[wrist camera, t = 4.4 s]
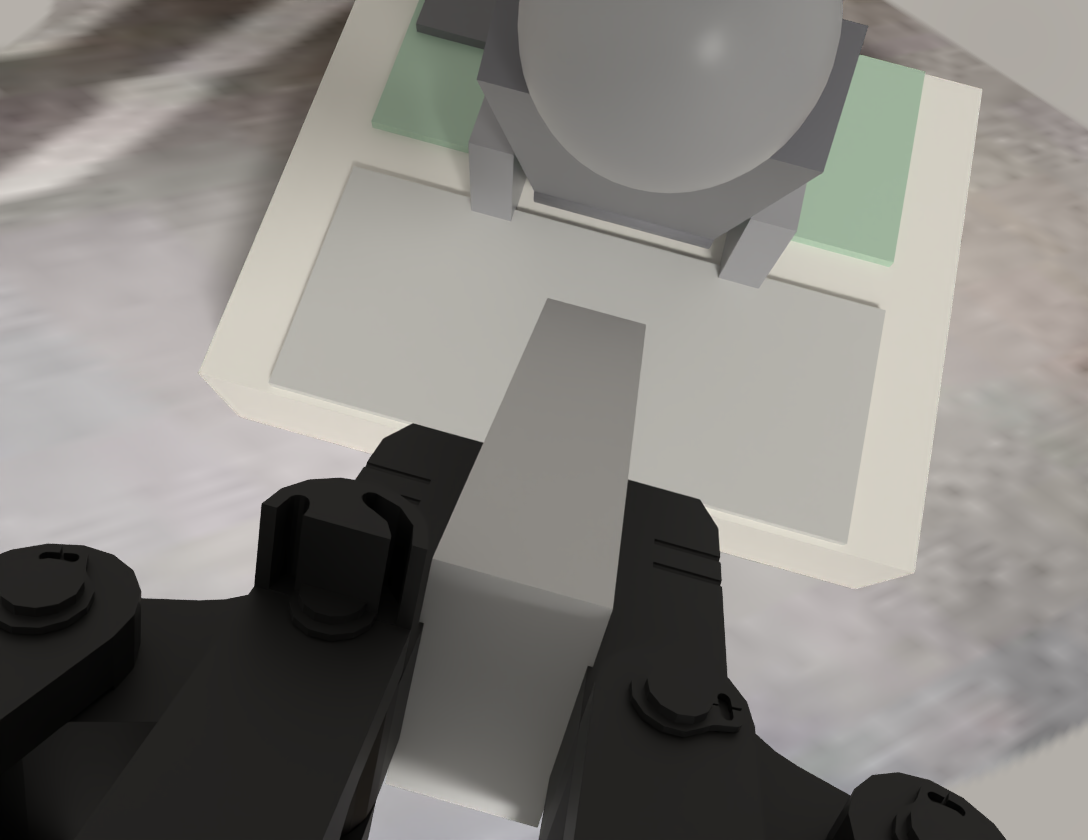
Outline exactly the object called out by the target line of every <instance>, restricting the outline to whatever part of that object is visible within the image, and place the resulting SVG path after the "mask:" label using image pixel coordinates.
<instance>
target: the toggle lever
mask: <svg viewBox="0 0 1088 840" xmlns="http://www.w3.org/2000/svg"><path fill="white" fill-rule="evenodd" d="M842 17H843V0H496V4H495V8H494V12H493V16H492V20H491V24H490V28H489V32H488V36H487V40H486V44H485V48H484V52H483V56H482V60H481V64H480V68H479V72H478V76H477V81H478V83H479V85H480V87H481V89H482V91H483V93H484V95H485V97H486V99H487V101H488V103H489V105H490V107H491V109H492V111H493V112H494V114H495V116H496V118H497V120H498V122H499V124H500V126H501V128H502V130H503V132H504V134H505V136H506V138H507V140H508V142H509V143H510V145H511V147H512V149H513V151H514V153H515V155H516V157H517V159H518V161H519V163H520V165H521V167H522V169H523V171H524V173H525V174H526V176H527V178H528V180H529V182H530V184H531V186H532V188H533V190H534V202H536V203H540V204H544V205H547V206H551V207H555V208H559V209H562V210H566V211H570V212H573V213H577V214H581V215H584V216H588V217H592V218H595V219H599V220H603V221H606V222H610V223H614V224H618V225H621V226H625V227H629V228H632V229H636V230H640V231H643V232H647V233H651V234H654V235H658V236H662V237H665V238H669V239H673V240H677V241H680V242H684V243H688V244H691V245H695V246H699V247H702V248H706V249H709V248H710V247H711V245H712V243H713V241H714V240H715V239H716V238H718V237H719V236H721V235H723V234H724V233H726V232H728V231H729V230H731V229H732V228H734V227H736V226H737V225H739V224H741V223H742V222H744V221H745V220H747V219H749V218H750V217H752V216H754V215H755V214H757V213H758V212H760V211H762V210H763V209H765V208H767V207H768V206H770V205H771V204H773V203H775V202H776V201H778V200H780V199H781V198H783V197H784V196H786V195H788V194H789V193H791V192H793V191H794V190H796V189H797V188H799V187H801V186H802V185H804V184H806V183H807V182H809V181H810V180H812V179H814V178H815V177H817V176H818V175H820V174H822V173H823V172H824V169H825V165H826V162H827V159H828V156H829V152H830V149H831V146H832V143H833V139H834V136H835V133H836V130H837V126H838V123H839V120H840V116H841V113H842V110H843V107H844V103H845V100H846V97H847V94H848V90H849V87H850V84H851V81H852V77H853V74H854V71H855V68H856V64H857V61H858V58H859V55H860V51H861V48H862V45H863V42H864V38H865V35H866V32H867V28H868V26H867V25H863V24H859V23H855V22H852V21H848V20H844V19H842Z"/></svg>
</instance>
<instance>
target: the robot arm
mask: <svg viewBox="0 0 1088 840" xmlns="http://www.w3.org/2000/svg"><path fill="white" fill-rule="evenodd" d="M645 330H646V324H642V323H639V322H635V321H631V320H628V319H624V318H620V317H617V316H613V315H609V314H605V313H602V312H598V311H594V310H591V309H587V308H583V307H580V306H576V305H572V304H569V303H565V302H561V301H558V300H554V299H550V298H547V300H546V302H545V305H544V307H543V309H542V312H541V314H540V316H539V318H538V321H537V323H536V325H535V327H534V330H533V332H532V334H531V336H530V339H529V341H528V343H527V345H526V348H525V350H524V352H523V355H522V357H521V359H520V361H519V364H518V366H517V368H516V370H515V373H514V375H513V377H512V379H511V382H510V384H509V386H508V388H507V391H506V393H505V395H504V398H503V400H502V402H501V404H500V407H499V409H498V411H497V413H496V416H495V418H494V420H493V422H492V425H491V427H490V429H489V431H488V434H487V436H486V438H485V441H484V443H483V442H480V441H476V440H472V439H469V438H465V437H461V436H458V435H454V434H451V433H447V432H443V431H440V430H436V429H433V428H429V427H425V426H422V425H418V424H414V423H412V424H410V425H408V426H406V427H404V428H402V429H400V430H399V431H397V432H395V433H393V434H391V435H389V436H387V437H385V438H383V439H382V441H381V442H380V444H379V445H378V447H377V448H376V450H375V451H374V453H373V454H372V456H371V457H370V459H369V460H368V462H367V465H366V467H364V468H363V469H362V471H361V472H360V474H359V475H358V477H357V478H356V480H352V479H345V478H327V479H310V480H306V481H303V482H300V483H297V484H294V485H291V486H287V487H284V488H281V489H280V490H279V491H277V492H276V493H275V494H274V495H272V496H271V497H270V498H268V499H267V500H266V501H264V502H263V503H262V506H261V517H260V529H259V540H258V551H257V562H256V573H255V584H254V587H253V589H252V590H251V592H250V593H249V594H248V595H245V596H240V597H235V598H230V599H224V600H199V601H198V600H172V599H145V598H141V589H140V587H139V584H138V581H137V579H136V576H135V573H134V571H133V570H132V569H131V568H130V567H128V566H127V565H126V564H125V563H123V562H122V561H121V560H119V559H118V558H117V557H116V556H114V555H113V554H109V553H106V552H103V551H100V550H97V549H94V548H90V547H87V546H84V545H65V544H43V545H37V546H31V547H25V548H19V549H13V550H9V551H7V552H4V553H2V554H0V840H368V837H369V832H370V827H371V822H372V817H373V812H374V807H375V803H376V799H377V796H378V794H379V791H380V789H381V786H382V783H383V781H384V778H385V775H386V773H387V777H386V782H385V784H387V785H391V786H394V787H398V788H401V789H405V790H408V791H412V792H415V793H419V794H422V795H426V796H429V797H433V798H436V799H440V800H443V801H447V802H450V803H454V804H457V805H461V806H464V807H468V808H471V809H475V810H478V811H481V812H485V813H488V814H492V815H495V816H499V817H502V818H506V819H509V820H513V821H516V822H520V823H523V824H527V825H530V826H534V827H538V824H539V821H540V819H541V816H542V813H543V818H542V823H541V829H540V835H539V840H1006V839H1005V837H1004V836H1003V835H1002V833H1001V832H1000V831H999V830H998V828H997V827H996V826H995V825H994V823H992V822H991V821H990V820H989V819H988V818H986V817H985V816H984V815H983V814H982V813H980V812H979V811H978V810H977V809H976V808H974V807H973V806H972V805H971V804H970V803H968V802H967V801H966V800H965V799H964V798H962V797H960V796H958V795H957V794H955V793H953V792H951V791H949V790H947V789H945V788H944V787H942V786H940V785H938V784H936V783H934V782H932V781H931V780H927V779H923V778H919V777H915V776H911V775H907V774H903V773H899V772H897V773H888V774H878V775H872V776H870V777H869V778H868V779H867V780H865V781H864V782H863V783H861V784H860V785H859V786H858V787H856V788H855V789H854V791H853V792H852V794H851V796H850V795H848V794H847V793H845V792H843V791H841V790H839V789H838V788H836V787H834V786H832V785H830V784H829V783H827V782H825V781H823V780H822V779H820V778H818V777H816V776H814V775H813V774H811V773H809V772H807V771H805V770H804V769H802V768H800V767H798V766H797V765H795V764H794V763H792V762H791V761H789V760H788V759H786V758H784V757H783V756H781V755H780V754H778V753H777V752H775V751H774V750H773V749H772V748H771V747H770V746H769V745H768V744H766V743H765V742H764V741H763V740H762V739H761V738H760V737H759V736H758V735H756V734H755V726H754V723H753V720H752V716H751V713H750V710H749V707H748V704H747V701H746V700H745V699H744V698H743V696H742V695H741V694H740V692H739V691H738V690H737V688H736V687H735V686H734V685H733V683H732V682H731V681H730V679H729V678H727V663H726V646H725V629H724V613H723V596H722V587H721V586H720V584H721V581H722V579H721V563H720V562H719V559H720V546H719V529H718V527H717V525H716V524H715V522H714V521H713V519H712V517H711V516H710V514H709V513H708V511H707V510H706V508H705V506H704V505H703V503H702V502H701V500H700V499H697V498H694V497H690V496H686V495H683V494H679V493H676V492H672V491H668V490H665V489H661V488H657V487H654V486H650V485H647V484H643V483H639V482H636V481H632V480H628V475H629V466H630V458H631V449H632V441H633V432H634V424H635V415H636V406H637V398H638V389H639V381H640V372H641V364H642V355H643V347H644V338H645ZM387 770H388V772H387ZM543 810H544V812H543Z"/></svg>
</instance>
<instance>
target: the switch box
mask: <svg viewBox="0 0 1088 840" xmlns="http://www.w3.org/2000/svg"><path fill="white" fill-rule="evenodd" d="M495 4H496V0H355V3H354V5H353V8H352V10H351V12H350V15H349V17H348V19H347V22H346V24H345V27H344V29H343V31H342V34H341V36H340V38H339V41H338V43H337V46H336V48H335V50H334V53H333V55H332V57H331V60H330V62H329V64H328V67H327V69H326V72H325V74H324V76H323V79H322V81H321V83H320V86H319V88H318V91H317V93H316V95H315V98H314V100H313V102H312V105H311V107H310V109H309V112H308V114H307V117H306V119H305V121H304V124H303V126H302V128H301V131H300V133H299V136H298V138H297V140H296V143H295V145H294V147H293V150H292V152H291V155H290V157H289V159H288V162H287V164H286V166H285V169H284V171H283V173H282V176H281V178H280V181H279V183H278V185H277V188H276V190H275V192H274V195H273V197H272V200H271V202H270V204H269V207H268V209H267V211H266V214H265V216H264V219H263V221H262V223H261V226H260V228H259V230H258V233H257V235H256V237H255V240H254V242H253V245H252V247H251V249H250V252H249V254H248V256H247V259H246V261H245V264H244V266H243V268H242V271H241V273H240V275H239V278H238V280H237V283H236V285H235V287H234V290H233V292H232V294H231V297H230V299H229V301H228V304H227V306H226V309H225V311H224V313H223V316H222V318H221V320H220V323H219V325H218V328H217V330H216V332H215V335H214V337H213V339H212V342H211V344H210V347H209V349H208V351H207V354H206V356H205V358H204V361H203V363H202V365H201V368H200V370H199V373H198V374H199V375H200V376H201V377H202V378H203V379H204V380H205V381H206V382H207V383H208V384H209V385H210V386H211V387H212V388H213V390H214V391H215V392H216V393H217V394H218V395H219V396H220V397H221V398H222V399H223V400H224V401H225V402H226V403H227V404H228V405H229V407H230V408H231V409H232V410H233V411H234V412H235V413H236V414H237V415H238V416H239V417H242V418H245V419H249V420H252V421H256V422H259V423H263V424H267V425H270V426H274V427H277V428H281V429H284V430H288V431H292V432H295V433H299V434H302V435H306V436H309V437H313V438H317V439H320V440H324V441H327V442H331V443H334V444H338V445H342V446H345V447H349V448H352V449H356V450H359V451H363V452H367V453H370V454H373V453H374V451H375V450H376V448H377V447H378V445H379V444H380V442H381V441H382V439H383V438H385V437H387V436H389V435H391V434H393V433H395V432H397V431H399V430H400V429H402V428H404V427H406V426H408V425H410V424H412V423H414V424H418V425H422V426H425V427H429V428H433V429H436V430H440V431H443V432H447V433H451V434H454V435H458V436H461V437H465V438H469V439H472V440H476V441H480V442H483V443H484V441H485V438H486V436H487V434H488V431H489V429H490V427H491V425H492V422H493V420H494V418H495V416H496V413H497V411H498V409H499V407H500V404H501V402H502V400H503V398H504V395H505V393H506V391H507V388H508V386H509V384H510V382H511V379H512V377H513V375H514V373H515V370H516V368H517V366H518V364H519V361H520V359H521V357H522V355H523V352H524V350H525V348H526V345H527V343H528V341H529V339H530V336H531V334H532V332H533V330H534V327H535V325H536V323H537V321H538V318H539V316H540V314H541V312H542V309H543V307H544V305H545V302H546V300H547V298H550V299H554V300H558V301H561V302H565V303H569V304H572V305H576V306H580V307H583V308H587V309H591V310H594V311H598V312H602V313H605V314H609V315H613V316H617V317H620V318H624V319H628V320H631V321H635V322H639V323H642V324H646V330H645V338H644V347H643V355H642V364H641V372H640V381H639V389H638V398H637V406H636V415H635V424H634V432H633V441H632V449H631V458H630V466H629V475H628V480H632V481H636V482H639V483H643V484H647V485H650V486H654V487H657V488H661V489H665V490H668V491H672V492H676V493H679V494H683V495H686V496H690V497H694V498H697V499H700V500H701V502H702V503H703V505H704V506H705V508H706V510H707V511H708V513H709V514H710V516H711V517H712V519H713V521H714V522H715V524H716V525H717V527H718V529H719V546H720V552H724V553H727V554H731V555H734V556H738V557H742V558H745V559H749V560H752V561H756V562H759V563H763V564H767V565H770V566H774V567H777V568H781V569H784V570H788V571H792V572H795V573H799V574H802V575H806V576H809V577H813V578H817V579H820V580H824V581H827V582H831V583H834V584H838V585H842V586H845V587H849V588H852V589H857V588H861V587H865V586H869V585H872V584H876V583H880V582H883V581H887V580H891V579H895V578H898V577H902V576H906V575H909V574H913V573H915V566H916V559H917V552H918V545H919V538H920V531H921V523H922V516H923V509H924V502H925V495H926V488H927V481H928V473H929V466H930V459H931V452H932V445H933V438H934V431H935V424H936V416H937V409H938V402H939V395H940V388H941V381H942V374H943V367H944V359H945V352H946V345H947V338H948V331H949V324H950V317H951V309H952V302H953V295H954V288H955V281H956V274H957V267H958V260H959V252H960V245H961V238H962V231H963V224H964V217H965V210H966V203H967V195H968V188H969V181H970V174H971V167H972V160H973V153H974V145H975V138H976V131H977V124H978V117H979V110H980V103H981V96H982V89H980V88H976V87H972V86H968V85H965V84H961V83H957V82H953V81H950V80H946V79H942V78H938V77H934V76H931V75H927V74H925V72H924V71H920V70H917V69H913V68H909V67H905V66H901V65H898V64H894V63H890V62H886V61H882V60H879V59H875V58H871V57H867V56H864V55H859V58H858V61H857V64H856V68H855V71H854V74H853V77H852V81H851V84H850V87H849V90H848V94H847V97H846V100H845V103H844V107H843V110H842V113H841V116H840V120H839V123H838V126H837V130H836V133H835V136H834V139H833V143H832V146H831V149H830V152H829V156H828V159H827V162H826V165H825V169H824V172H823V173H822V174H820V175H818V176H817V177H815V178H814V179H812V180H810V181H809V182H807V183H806V184H804V185H802V186H801V187H799V188H797V189H796V190H794V191H793V192H791V193H789V194H788V195H786V196H784V197H783V198H781V199H780V200H778V201H776V202H775V203H773V204H771V205H770V206H768V207H767V208H765V209H763V210H762V211H760V212H758V213H757V214H755V215H754V216H752V217H750V218H749V219H747V220H745V221H744V222H742V223H741V224H739V225H737V226H736V227H734V228H732V229H731V230H729V231H728V232H726V233H724V234H723V235H721V236H719V237H718V238H716V239H715V240H714V241H713V243H712V245H711V247H710V248H709V249H706V248H702V247H699V246H695V245H691V244H688V243H684V242H680V241H677V240H673V239H669V238H665V237H662V236H658V235H654V234H651V233H647V232H643V231H640V230H636V229H632V228H629V227H625V226H621V225H618V224H614V223H610V222H606V221H603V220H599V219H595V218H592V217H588V216H584V215H581V214H577V213H573V212H570V211H566V210H562V209H559V208H555V207H551V206H547V205H544V204H540V203H536V202H534V190H533V188H532V186H531V184H530V182H529V180H528V178H527V176H526V174H525V173H524V171H523V169H522V167H521V165H520V163H519V161H518V159H517V157H516V155H515V153H514V151H513V149H512V147H511V145H510V143H509V142H508V140H507V138H506V136H505V134H504V132H503V130H502V128H501V126H500V124H499V122H498V120H497V118H496V116H495V114H494V112H493V111H492V109H491V107H490V105H489V103H488V101H487V99H486V97H485V95H484V93H483V91H482V89H481V87H480V85H479V83H478V81H477V76H478V72H479V68H480V64H481V60H482V56H483V52H484V48H485V44H486V40H487V36H488V32H489V28H490V24H491V20H492V16H493V12H494V8H495Z"/></svg>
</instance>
